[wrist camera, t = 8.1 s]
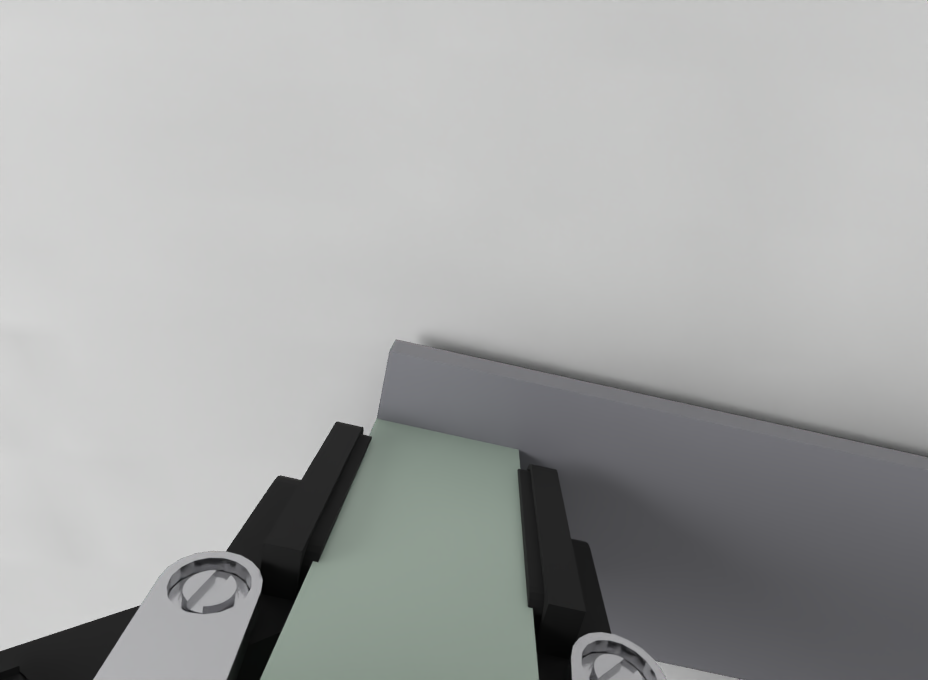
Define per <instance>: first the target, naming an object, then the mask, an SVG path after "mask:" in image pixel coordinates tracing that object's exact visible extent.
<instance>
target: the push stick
mask: <svg viewBox="0 0 928 680" xmlns="http://www.w3.org/2000/svg"><path fill="white" fill-rule="evenodd" d="M369 436H372V439H371V442H370V444H369V446H368V449H367V451H366V453H365V455H364V458H363V460H362V462H361V465H360V467H359V469H358V472H357V474H356V476H355V479H354V481H353V483H352V485H351V488H350V490H349V492H348V495H347V497H346V499H345V502H344V504H343V506H342V509H341V511H340V513H339V515H338V518H337V520H336V522H335V525H334V527H333V529H332V532H331V534H330V536H329V539H328V541H327V543H326V545H325V548H324V550H323V552H322V555H321V557H320V559H319V562H314V561H313V562H312V565H311V567H310V569H309V571H308V573H307V576H306V578H305V580H304V582H303V585H302V587H301V589H300V591H299V594H298V596H297V598H296V600H295V602H294V605H293V607H292V609H291V611H290V614H289V616H288V618H287V620H286V623H285V625H284V627H283V629H282V632H281V634H280V636H279V638H278V640H277V643H276V645H275V647H274V649H273V652H272V654H271V656H270V658H269V661H268V663H267V665H266V667H265V670H264V672H263V674H262V676H261V678H260V680H539V675H538V664H537V653H536V641H535V630H534V618H533V608H529V607H528V602H527V589H526V576H525V563H524V550H523V537H522V524H521V511H520V497H519V484H518V471H517V470H518V469H523V470H527V468H528V466H529V464H533V465H538V466H542V467H547V468H551V469H556V470H557V472H558V477H559V482H560V487H561V492H562V496H563V501H564V506H565V511H566V516H567V521H568V526H569V531H570V536H571V539H576V540H580V541H585V542H587V543H588V544H589V547H590V549H591V553H592V557H593V561H594V565H595V569H596V573H597V577H598V582H599V586H600V590H601V594H602V598H603V602H604V606H605V610H606V614H607V618H608V622H609V626H610V630H611V634H615V635H617V636H620V637H622V638H625V639H627V640H629V641H631V642H633V643H634V644H636V645H637V646H639V647H640V648H642V649H643V650H644V651H645V652H646V653H648V654H649V655H650V656H651V657H652V658H653V659H654V660H655V661H658V662H663V663H668V664H672V665H677V666H682V667H686V668H691V669H696V670H701V671H705V672H710V673H715V674H719V675H724V676H729V677H733V678H738V679H743V680H928V457H924V456H920V455H915V454H911V453H906V452H902V451H897V450H893V449H888V448H884V447H879V446H874V445H870V444H865V443H861V442H856V441H852V440H847V439H843V438H838V437H834V436H829V435H825V434H820V433H816V432H811V431H807V430H802V429H798V428H793V427H789V426H784V425H780V424H775V423H771V422H766V421H762V420H757V419H753V418H748V417H744V416H739V415H735V414H730V413H726V412H721V411H717V410H712V409H707V408H703V407H698V406H694V405H689V404H685V403H680V402H676V401H671V400H667V399H662V398H658V397H653V396H649V395H644V394H640V393H635V392H631V391H626V390H622V389H617V388H613V387H608V386H604V385H599V384H595V383H590V382H586V381H581V380H577V379H572V378H568V377H563V376H559V375H554V374H550V373H545V372H540V371H536V370H531V369H527V368H522V367H518V366H513V365H509V364H504V363H500V362H495V361H491V360H486V359H482V358H477V357H473V356H468V355H464V354H459V353H455V352H450V351H446V350H441V349H437V348H432V347H428V346H423V345H419V344H414V343H410V342H405V341H401V340H395V342H394V344H393V346H392V348H391V349H390V352H389V357H388V362H387V367H386V373H385V378H384V383H383V389H382V394H381V399H380V404H379V410H378V415H377V419H376V422H375V424H374V426H373V428H372V430H371V433H370V435H369Z"/></svg>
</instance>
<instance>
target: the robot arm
mask: <svg viewBox="0 0 928 680" xmlns="http://www.w3.org/2000/svg"><path fill="white" fill-rule="evenodd" d="M371 439H372V436H367V435H363V427H359V426H354V425H350V424H345V423H341V422H336V423H335V425H334V426H333V428H332V430H331V431H330V433H329V435H328V436H327V438H326V440H325V441H324V443H323V445H322V446H321V448H320V450H319V451H318V453H317V455H316V456H315V458H314V460H313V461H312V463H311V465H310V466H309V468H308V470H307V471H306V473H305V475H304V477H303V478H302V480H298V479H294V478H289V477H285V476H278V477H277V478H276V479H275V480H274V482H273V483H272V484H271V486H270V487H269V489H268V490H267V492H266V493H265V495H264V496H263V498H262V499H261V501H260V502H259V504H258V505H257V507H256V508H255V509H254V511H253V512H252V514H251V515H250V517H249V518H248V520H247V521H246V523H245V524H244V526H243V527H242V529H241V530H240V532H239V533H238V534H237V536H236V537H235V539H234V540H233V542H232V543H231V545H230V546H229V548H228V549H227V551H226V552H224V551H208V552H202V553H195V554H193V555H190V556H187V557H184V558H181V559H180V560H178V561H176V562H175V563H173V564H172V565H170V566H168V567H167V568H166V570H165V571H164V572H163V573H162V574H161V575H160V576H159V577H158V579H157V581H156V582H155V584H154V585H153V587H152V588H151V590H150V592H149V593H148V595H147V596H146V598H145V599H144V601H143V602H142V604H141V605H140V606H137V607H134V608H131V609H128V610H125V611H122V612H119V613H115V614H112V615H109V616H106V617H103V618H100V619H97V620H94V621H91V622H88V623H85V624H82V625H79V626H76V627H73V628H70V629H67V630H64V631H61V632H58V633H55V634H52V635H49V636H46V637H43V638H39V639H36V640H33V641H30V642H27V643H24V644H21V645H18V646H15V647H12V648H9V649H6V650H3V651H0V680H260V678H261V676H262V674H263V672H264V670H265V667H266V665H267V663H268V661H269V658H270V656H271V654H272V652H273V649H274V647H275V645H276V643H277V640H278V638H279V636H280V634H281V632H282V629H283V627H284V625H285V623H286V620H287V618H288V616H289V614H290V611H291V609H292V607H293V605H294V602H295V600H296V598H297V596H298V594H299V591H300V589H301V587H302V585H303V582H304V580H305V578H306V576H307V573H308V571H309V569H310V567H311V565H312V562H313V561H314V562H319V559H320V557H321V555H322V552H323V550H324V548H325V545H326V543H327V541H328V539H329V536H330V534H331V532H332V529H333V527H334V525H335V522H336V520H337V518H338V515H339V513H340V511H341V509H342V506H343V504H344V502H345V499H346V497H347V495H348V492H349V490H350V488H351V485H352V483H353V481H354V479H355V476H356V474H357V472H358V469H359V467H360V465H361V462H362V460H363V458H364V455H365V453H366V451H367V449H368V446H369V444H370V442H371ZM517 471H518V484H519V497H520V511H521V524H522V537H523V550H524V563H525V576H526V589H527V602H528V607H529V608H533V618H534V630H535V641H536V653H537V664H538V675H539V680H666V678H665V675H664V673H663V671H662V670H661V668H660V667H659V666H658V664H657V663H656V661H655V660H654V659H653V658H652V657H651V656H650V655H649V654H648V653H646V652H645V651H644V650H643V649H642V648H640V647H639V646H637V645H636V644H634V643H633V642H631V641H629V640H627V639H625V638H622V637H620V636H617V635H615V634H611V630H610V626H609V622H608V618H607V614H606V610H605V606H604V602H603V598H602V594H601V590H600V586H599V582H598V577H597V573H596V569H595V565H594V561H593V557H592V553H591V549H590V547H589V544H588V543H587V542H585V541H580V540H576V539H571V536H570V531H569V526H568V521H567V516H566V511H565V506H564V501H563V496H562V492H561V487H560V482H559V477H558V472H557V470H556V469H551V468H547V467H542V466H538V465H533V464H529V466H528V468H527V470H523V469H518V470H517Z"/></svg>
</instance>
